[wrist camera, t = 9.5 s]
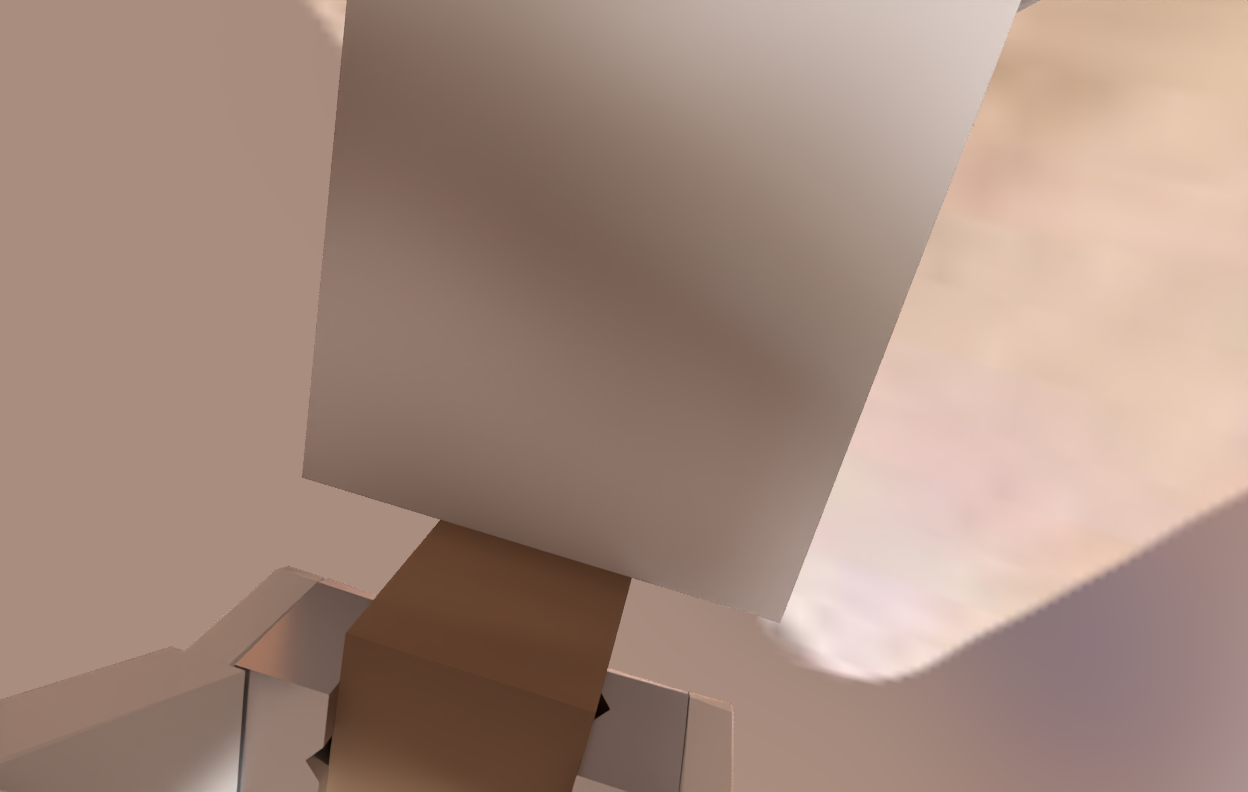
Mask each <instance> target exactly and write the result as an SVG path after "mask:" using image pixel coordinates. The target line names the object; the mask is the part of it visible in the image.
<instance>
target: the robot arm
mask: <svg viewBox="0 0 1248 792" xmlns="http://www.w3.org/2000/svg"><path fill="white" fill-rule="evenodd" d="M376 596H377V595H376V594H373V593H370V592H367V591H364V590H361V589H358V588H355V587H352V586H349V585H346V584H344V583H341V582H338V581H335V580H332V579H329V578H327V579H325V578H323V577H320V576H318V575H314V574H311V573H309V572H306V571H303V570H300V569H297V568H294V567H291V566H287V567H283V568H280V569H277V570H275V571H274V572H273V573H272V574H271V575H270V576H268V577H267V578H266V579H265V580H264V581H263V582H262V583H260V584H259V585H258V586H257V587H256V588H255V589H254V590H252V591H251V592H250V593H249V594H248V595H247V596H246V597H244V598H243V599H242V600H241V601H240V602H239V603H238V604H236V605H235V606H234V607H233V608H232V609H231V610H229V611H228V612H227V613H226V614H225V615H224V616H223V617H222V618H220V619H219V620H218V621H217V622H216V623H215V624H213V625H212V626H211V627H210V628H209V629H208V630H207V631H205V632H204V633H203V634H202V635H201V636H200V637H199V638H197V639H196V640H195V641H194V642H193V643H192V644H191V645H189V647H187V648H186V649H185V650H180V649H177V648H174V647H168V648H165V649H161V650H158V651H155V652H152V653H149V654H146V655H142V656H139V657H136V658H132V659H129V660H126V661H123V662H120V663H116V664H113V665H110V666H107V667H103V668H101V669H97V670H94V671H91V672H88V673H85V674H81V675H78V676H75V677H71V678H68V679H65V680H62V681H59V682H56V683H52V684H49V685H46V686H43V687H39V688H36V689H33V690H30V691H26V692H23V693H20V694H17V695H13V696H10V697H7V698H4V699H1V700H0V792H326V789H327V781H328V774H329V758H330V750H331V742H332V735H333V733H334V727H335V718H336V710H337V701H338V692H339V683H340V681H339V680H340V672H341V665H342V657H343V649H344V641H345V634H346V632H347V631H348V630H349V629H350V627H351V626H352V625H353V624H354V623H355V621H356V620H357V619H358V618H359V617H360V615H361V614H362V613H363V612H364V611H365V609H366V608H367V607H368V606H369V605H370V603H371V602H372V601H373V600H374V599H375V597H376ZM733 732H734V710H733V708H732V706H731V704H730V703H727V702H724V701H720V700H717V699H713V698H710V697H706V696H703V695H700V694H696V693H693V692H688V693H687V692H685V691H682V690H679V689H676V688H673V687H669V686H666V685H663V684H659V683H656V682H653V681H650V680H646V679H643V678H640V677H636V676H633V675H630V674H626V673H623V672H620V671H617V670H613V669H610V668H608V669H607V673H606V676H605V680H604V684H603V688H602V691H601V695H600V699H599V703H598V706H597V710H596V714H595V717H594V721H593V724H592V728H591V731H590V734H589V738H588V741H587V745H586V748H585V751H584V755H583V758H582V759H581V761H580V764H579V767H578V771H577V774H576V777H575V781H574V784H573V787H572V791H571V792H733V739H734V736H733V735H734V733H733Z"/></svg>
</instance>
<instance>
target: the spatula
mask: <svg viewBox="0 0 1248 792" xmlns="http://www.w3.org/2000/svg"><path fill="white" fill-rule="evenodd" d="M1020 2H1021V0H347V5H346V15H345V26H344V37H343V47H342V58H341V68H340V69H341V70H340V80H339V90H338V102H337V111H336V122H335V133H334V143H333V154H332V164H331V175H330V186H329V196H328V207H327V218H326V229H325V239H324V250H323V261H322V272H321V282H320V292H319V304H318V314H317V324H316V335H315V346H314V357H313V367H312V377H311V388H310V399H309V409H308V420H307V421H308V422H307V431H306V441H305V453H304V463H303V473H302V478H305V479H309V480H312V481H316V482H319V483H322V484H325V485H329V486H332V487H335V488H338V489H342V490H345V491H348V492H351V493H355V494H358V495H362V496H365V497H368V498H371V499H375V500H378V501H381V502H384V503H388V504H391V505H394V506H398V507H401V508H404V509H407V510H411V511H414V512H417V513H421V514H424V515H427V516H430V517H434V518H437V519H440V521H439V522H438V523H437V525H436V526H435V527H434V528H433V529H432V531H431V532H430V533H429V534H428V535H427V537H426V538H425V539H424V540H423V541H422V543H421V544H420V545H419V546H418V547H417V549H416V550H415V551H414V552H413V553H412V555H411V556H410V557H409V558H408V559H407V560H406V562H405V563H404V564H403V565H402V567H401V568H400V569H399V570H398V571H397V572H396V574H395V575H394V576H393V577H392V578H391V580H390V581H389V582H388V583H387V584H386V586H385V587H384V588H383V589H382V590H381V591H380V593H379V594H378V595H377V596H376V597H375V599H374V600H373V601H372V602H371V603H370V605H369V606H368V607H367V608H366V609H365V611H364V612H363V613H362V614H361V615H360V617H359V618H358V619H357V620H356V621H355V623H354V624H353V625H352V626H351V627H350V629H349V630H348V631H347V632H346V634H345V641H344V649H343V657H342V665H341V672H340V680H339V681H340V683H339V692H338V701H337V710H336V718H335V727H334V733H333V735H332V742H331V750H330V758H329V774H328V781H327V789H326V792H571V791H572V787H573V784H574V781H575V777H576V774H577V771H578V767H579V764H580V761H581V759H582V758H583V755H584V751H585V748H586V745H587V741H588V738H589V734H590V731H591V728H592V724H593V721H594V717H595V714H596V710H597V706H598V703H599V699H600V695H601V691H602V688H603V684H604V680H605V676H606V673H607V669H608V665H609V661H610V657H611V654H612V650H613V646H614V643H615V639H616V635H617V631H618V628H619V624H620V620H621V616H622V613H623V609H624V605H625V601H626V598H627V594H628V590H629V586H630V582H631V579H632V578H635V579H638V580H641V581H644V582H648V583H651V584H654V585H657V586H661V587H664V588H667V589H670V590H674V591H677V592H680V593H684V594H687V595H690V596H693V597H697V598H701V599H703V600H707V601H710V602H713V603H717V604H720V605H723V606H727V607H730V608H733V609H737V610H740V611H743V612H746V613H750V614H753V615H756V616H759V617H763V618H766V619H769V620H772V621H776V622H779V623H780V622H781V619H782V617H783V614H784V611H785V609H786V606H787V604H788V601H789V598H790V596H791V593H792V591H793V588H794V586H795V583H796V580H797V578H798V575H799V573H800V570H801V567H802V565H803V562H804V560H805V557H806V555H807V552H808V549H809V547H810V544H811V542H812V539H813V536H814V534H815V531H816V529H817V526H818V524H819V521H820V518H821V516H822V513H823V511H824V508H825V505H826V503H827V500H828V498H829V495H830V493H831V490H832V487H833V485H834V482H835V480H836V477H837V474H838V472H839V469H840V467H841V464H842V462H843V459H844V456H845V454H846V451H847V449H848V446H849V443H850V441H851V438H852V436H853V433H854V431H855V428H856V425H857V423H858V420H859V418H860V415H861V412H862V410H863V407H864V405H865V402H866V400H867V397H868V394H869V392H870V389H871V387H872V384H873V381H874V379H875V376H876V374H877V371H878V369H879V366H880V363H881V361H882V358H883V356H884V353H885V350H886V348H887V345H888V343H889V340H890V338H891V335H892V332H893V330H894V327H895V325H896V322H897V319H898V317H899V314H900V312H901V309H902V307H903V304H904V301H905V299H906V296H907V294H908V291H909V288H910V286H911V283H912V281H913V278H914V276H915V273H916V270H917V268H918V265H919V263H920V260H921V257H922V255H923V252H924V250H925V247H926V245H927V242H928V239H929V237H930V234H931V232H932V229H933V226H934V224H935V221H936V219H937V216H938V214H939V211H940V208H941V206H942V203H943V201H944V198H945V195H946V193H947V190H948V188H949V185H950V183H951V180H952V177H953V175H954V172H955V170H956V167H957V164H958V162H959V159H960V157H961V154H962V152H963V149H964V146H965V144H966V141H967V139H968V136H969V133H970V131H971V128H972V126H973V123H974V121H975V118H976V115H977V113H978V110H979V108H980V105H981V102H982V100H983V97H984V95H985V92H986V90H987V87H988V84H989V82H990V79H991V77H992V74H993V71H994V69H995V66H996V64H997V61H998V59H999V56H1000V53H1001V51H1002V48H1003V46H1004V43H1005V40H1006V38H1007V35H1008V33H1009V30H1010V28H1011V25H1012V22H1013V20H1014V17H1015V15H1016V12H1017V9H1018V7H1019V4H1020Z"/></svg>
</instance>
